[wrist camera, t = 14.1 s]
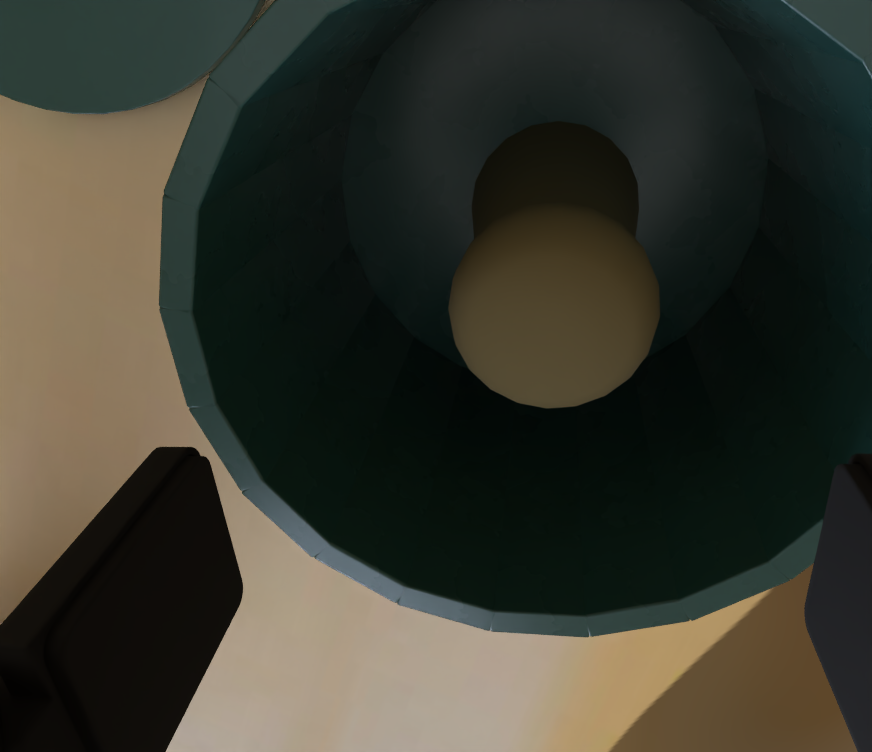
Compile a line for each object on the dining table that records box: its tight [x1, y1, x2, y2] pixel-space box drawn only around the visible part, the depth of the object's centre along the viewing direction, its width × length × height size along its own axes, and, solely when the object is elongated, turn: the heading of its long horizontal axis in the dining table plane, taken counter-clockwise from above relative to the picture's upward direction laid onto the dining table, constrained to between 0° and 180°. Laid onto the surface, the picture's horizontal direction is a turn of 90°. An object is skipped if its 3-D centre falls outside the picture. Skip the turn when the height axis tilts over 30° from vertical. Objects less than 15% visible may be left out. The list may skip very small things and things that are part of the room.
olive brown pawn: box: [448, 121, 660, 408], centre depth 21 cm, size 6×6×11 cm
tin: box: [159, 0, 872, 637], centre depth 21 cm, size 17×17×13 cm
